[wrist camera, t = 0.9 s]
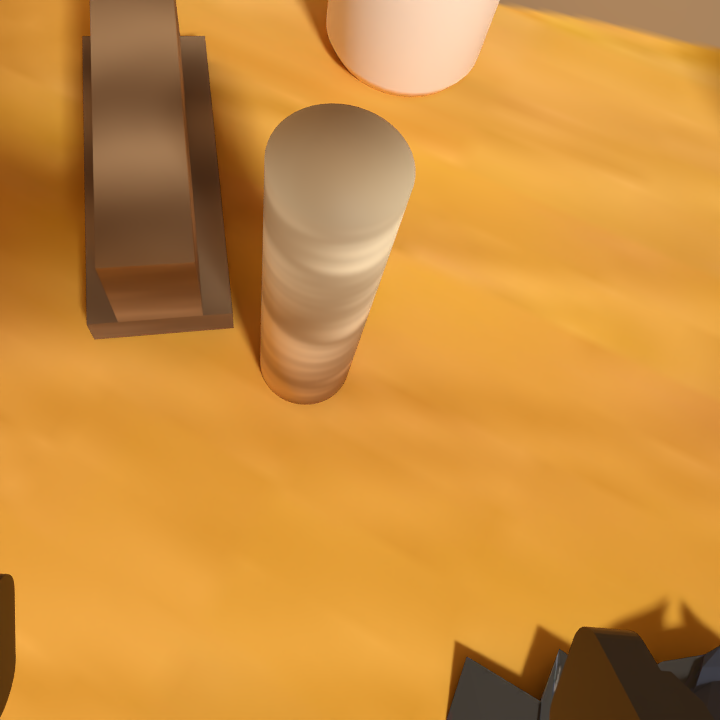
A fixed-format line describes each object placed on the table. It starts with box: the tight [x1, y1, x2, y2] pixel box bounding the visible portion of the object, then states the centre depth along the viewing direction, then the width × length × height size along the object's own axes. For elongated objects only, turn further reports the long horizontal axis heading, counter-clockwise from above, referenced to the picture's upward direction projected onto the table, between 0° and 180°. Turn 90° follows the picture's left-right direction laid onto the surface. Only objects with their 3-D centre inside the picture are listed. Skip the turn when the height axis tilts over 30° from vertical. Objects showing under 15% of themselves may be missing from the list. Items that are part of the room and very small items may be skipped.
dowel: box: [260, 104, 415, 405], centre depth 24 cm, size 4×4×14 cm
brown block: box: [83, 0, 234, 339], centre depth 30 cm, size 16×6×6 cm, turn 9°
